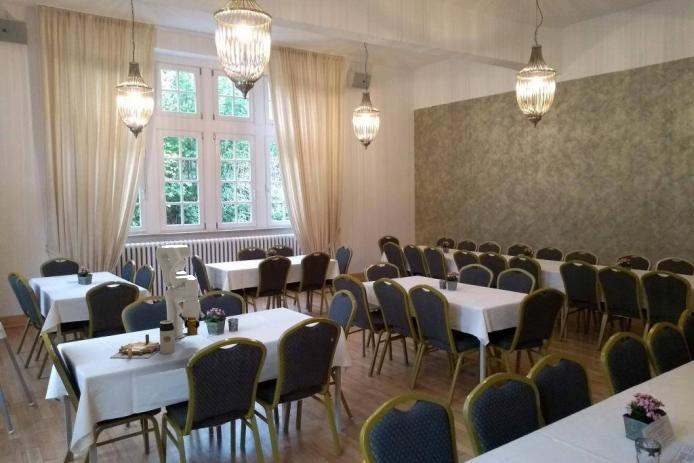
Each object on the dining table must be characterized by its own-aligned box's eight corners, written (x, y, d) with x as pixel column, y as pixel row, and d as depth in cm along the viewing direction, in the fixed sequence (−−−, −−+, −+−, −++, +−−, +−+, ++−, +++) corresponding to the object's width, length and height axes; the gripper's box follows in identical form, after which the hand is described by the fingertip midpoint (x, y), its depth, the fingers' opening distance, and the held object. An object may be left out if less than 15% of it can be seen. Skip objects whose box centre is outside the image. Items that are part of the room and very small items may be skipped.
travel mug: (162, 350, 321) (161, 320, 320) (176, 349, 322) (175, 319, 320) (158, 354, 313) (157, 323, 312) (172, 353, 314) (171, 322, 313)
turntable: (132, 343, 333) (131, 332, 333) (168, 344, 330) (168, 333, 330) (110, 354, 310) (110, 343, 310) (149, 355, 307) (149, 344, 307)
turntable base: (131, 345, 332) (130, 336, 332) (166, 345, 331) (166, 336, 331) (109, 358, 306) (109, 348, 306) (148, 358, 305) (147, 348, 304)
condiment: (199, 334, 328) (199, 315, 327) (185, 336, 324) (185, 317, 323) (196, 331, 335) (195, 312, 333) (182, 333, 330) (181, 314, 329)
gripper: (175, 299, 324) (175, 328, 325) (203, 299, 323) (204, 329, 324) (179, 296, 331) (180, 325, 333) (207, 297, 330) (208, 326, 332)
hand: (192, 327), depth 329 cm, fingers closed on condiment, 6 cm apart
